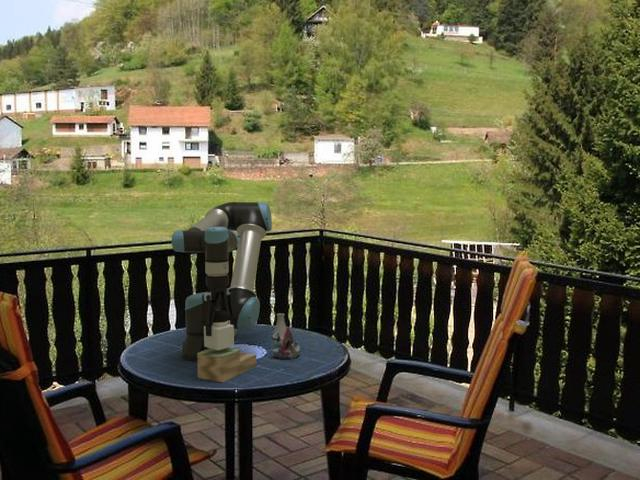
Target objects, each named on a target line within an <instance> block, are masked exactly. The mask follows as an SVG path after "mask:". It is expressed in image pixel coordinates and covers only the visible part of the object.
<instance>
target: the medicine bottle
mask: <svg viewBox="0 0 640 480" xmlns="http://www.w3.org/2000/svg"><path fill="white" fill-rule="evenodd" d="M227 323H228V312H227V311H225V310H216V312H215V316H214V320H213V325H212V326H214V339H215V346H209V345H206V327H205V326H204V346H205V347H208V348H211V349H215V350H221V349H225V348H232V347H234V346H235V336H234V325H230V324H227Z"/></svg>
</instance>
